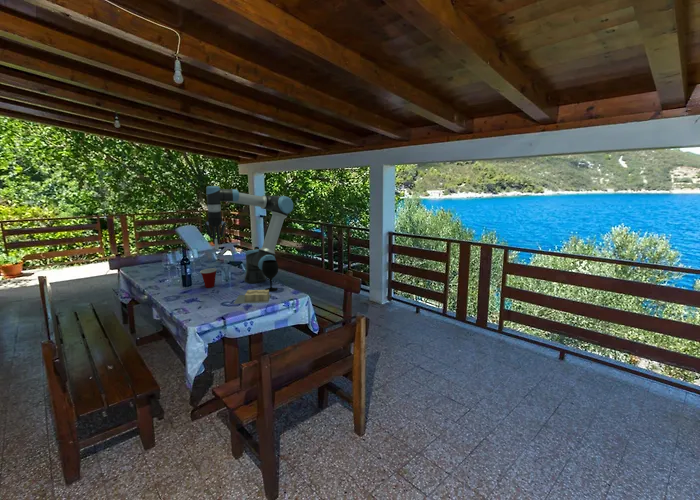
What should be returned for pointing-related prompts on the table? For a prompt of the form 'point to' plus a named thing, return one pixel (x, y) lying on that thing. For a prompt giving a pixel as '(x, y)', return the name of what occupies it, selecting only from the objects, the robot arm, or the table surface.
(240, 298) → the rubber mat
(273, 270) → the wine glass
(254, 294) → the oak board
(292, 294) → the table surface
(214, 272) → the plastic cup
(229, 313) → the table surface
